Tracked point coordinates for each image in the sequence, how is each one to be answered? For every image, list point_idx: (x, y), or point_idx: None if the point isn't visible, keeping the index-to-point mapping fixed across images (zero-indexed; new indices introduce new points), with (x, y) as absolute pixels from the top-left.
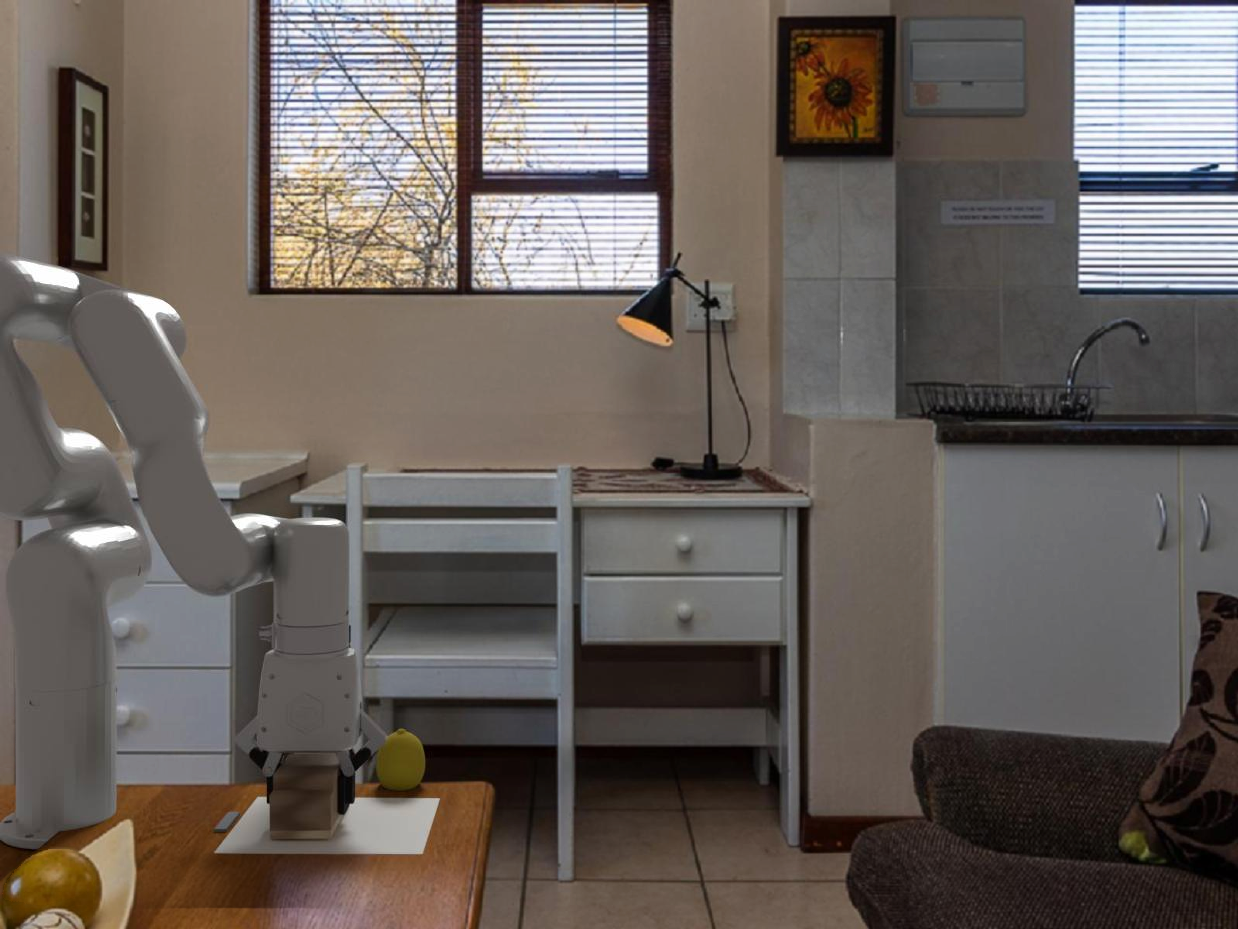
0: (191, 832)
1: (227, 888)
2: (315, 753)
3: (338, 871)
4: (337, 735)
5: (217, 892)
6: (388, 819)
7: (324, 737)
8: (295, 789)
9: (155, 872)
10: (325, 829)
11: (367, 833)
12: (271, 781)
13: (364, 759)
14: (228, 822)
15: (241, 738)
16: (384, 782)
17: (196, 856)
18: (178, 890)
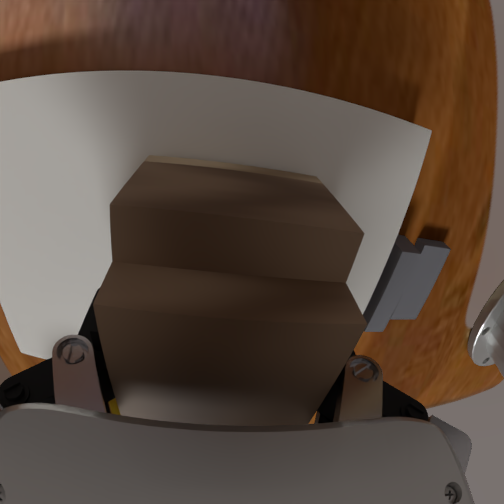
0: None
1: (382, 13)
2: None
3: (134, 59)
4: (40, 483)
5: (398, 2)
6: (56, 281)
7: (115, 492)
8: (266, 278)
9: (488, 138)
10: (158, 163)
11: (74, 205)
12: None
13: (21, 380)
14: (392, 285)
15: (457, 449)
16: (112, 405)
17: (434, 194)
18: (459, 42)
